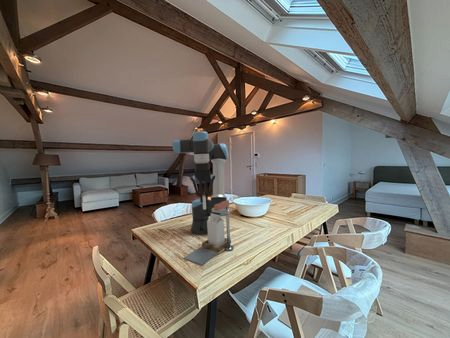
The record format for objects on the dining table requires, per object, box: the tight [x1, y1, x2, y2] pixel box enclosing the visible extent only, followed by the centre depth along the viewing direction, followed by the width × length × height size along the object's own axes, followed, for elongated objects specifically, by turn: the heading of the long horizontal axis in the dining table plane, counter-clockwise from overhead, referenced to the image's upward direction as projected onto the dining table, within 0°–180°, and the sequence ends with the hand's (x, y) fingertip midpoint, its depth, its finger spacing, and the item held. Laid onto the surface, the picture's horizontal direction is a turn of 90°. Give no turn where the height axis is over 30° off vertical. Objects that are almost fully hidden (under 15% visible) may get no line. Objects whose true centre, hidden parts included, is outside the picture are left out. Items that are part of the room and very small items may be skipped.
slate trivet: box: [183, 246, 219, 266], centre depth 100 cm, size 13×13×1 cm
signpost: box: [212, 200, 232, 248], centre depth 104 cm, size 12×12×27 cm
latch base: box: [224, 245, 235, 252], centre depth 106 cm, size 5×5×1 cm
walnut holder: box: [201, 237, 232, 253], centre depth 111 cm, size 12×12×2 cm
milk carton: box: [207, 213, 226, 246], centre depth 110 cm, size 7×7×19 cm
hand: (204, 208), depth 95 cm, fingers closed
